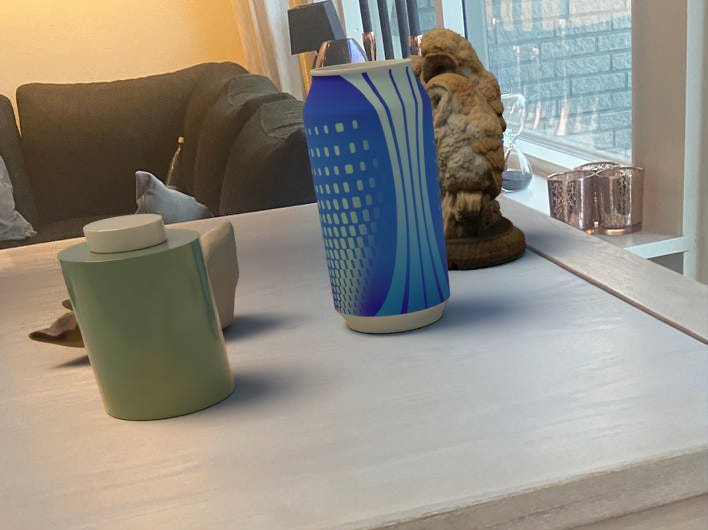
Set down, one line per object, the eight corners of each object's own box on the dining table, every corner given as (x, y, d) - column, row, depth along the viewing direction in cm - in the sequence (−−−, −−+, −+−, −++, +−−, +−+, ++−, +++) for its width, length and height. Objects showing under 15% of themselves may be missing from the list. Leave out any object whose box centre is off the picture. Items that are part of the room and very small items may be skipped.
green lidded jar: (83, 423, 57) (22, 242, 51) (134, 377, 63) (86, 213, 58) (211, 416, 56) (164, 232, 50) (250, 371, 62) (212, 203, 57)
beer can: (315, 323, 70) (271, 73, 61) (407, 297, 75) (377, 58, 66) (380, 344, 65) (341, 71, 56) (475, 314, 69) (453, 55, 60)
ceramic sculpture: (216, 210, 62) (-11, 251, 62) (253, 341, 67) (42, 380, 67) (232, 186, 71) (34, 222, 71) (264, 304, 76) (78, 338, 76)
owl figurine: (355, 246, 92) (324, 37, 82) (463, 224, 96) (445, 23, 86) (436, 279, 78) (410, 34, 69) (558, 252, 82) (549, 18, 73)
